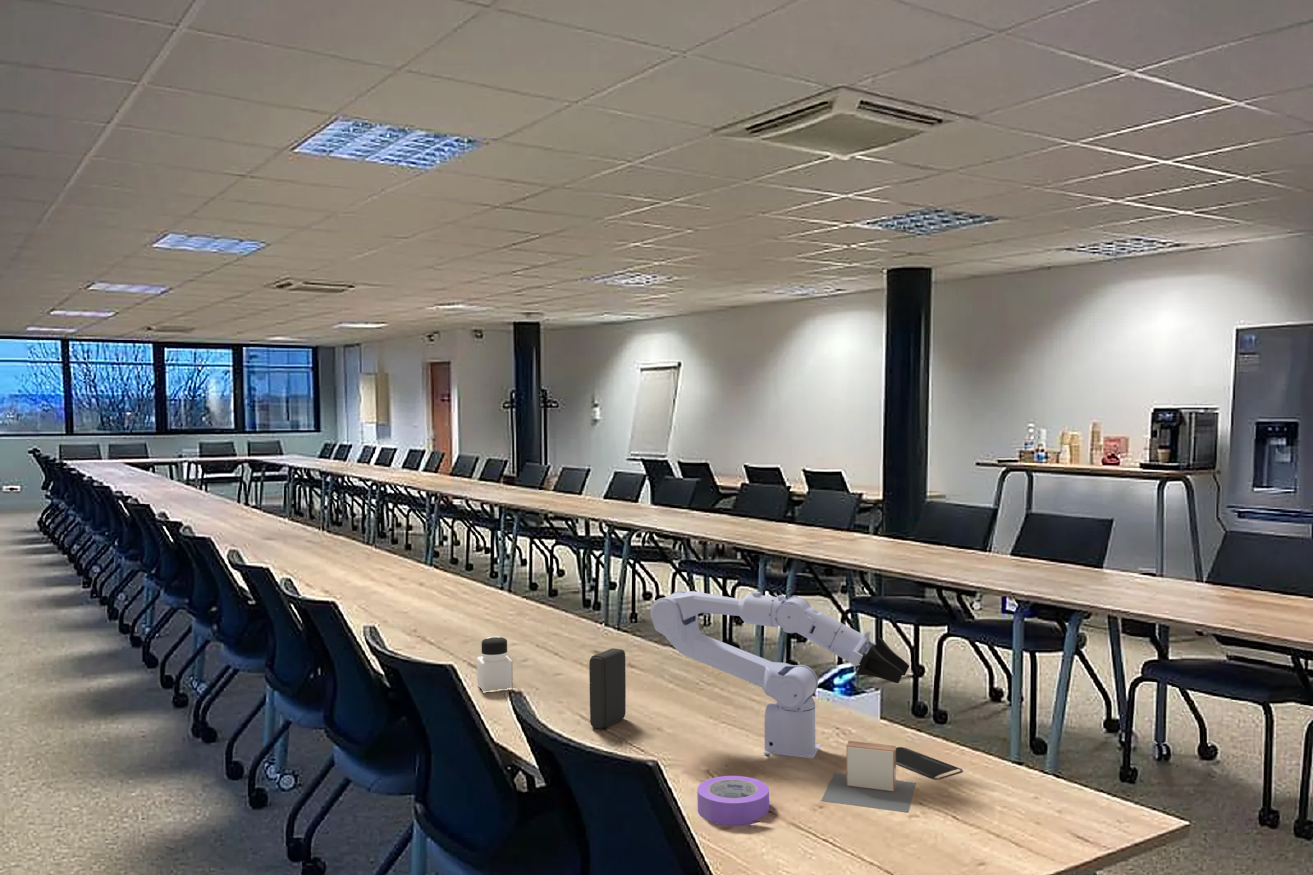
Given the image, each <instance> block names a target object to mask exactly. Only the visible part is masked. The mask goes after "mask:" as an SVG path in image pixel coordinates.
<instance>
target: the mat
mask: <svg viewBox="0 0 1313 875" xmlns="http://www.w3.org/2000/svg"><path fill="white" fill-rule="evenodd" d="M915 787H916V782H912V781H905V780H904V781H903V780H897V779H896V788H895V792H892V791H884V790H877V789H869V788H861V787H853V786H847V773H846V774H845V773H839V772H834V773H833V775H832V777H831V779H830V781H829V783H828V785H827V788H826V789H825V792H824V793H823V796H822V798H821V799H820V801H821V802H825V803H826V802H827V803H832V804H833V803H834V804H841V805H847V806H856V807H864V808H870V809H871V808H872V809H877V810H879V809H880V810H884V811H885V810H886V811H892V812H893V811H894V812H898V813H899V812H900V813H909V810H910V806H911V803H912V800H913V795H914V792H915Z"/></svg>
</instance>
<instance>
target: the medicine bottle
mask: <svg viewBox="0 0 1313 875" xmlns="http://www.w3.org/2000/svg"><path fill="white" fill-rule="evenodd" d="M476 670H477V671H476V674H477V676H476V677H477V678H476V680H477V681H476V682H477V683H478V685H479V686H480V687H481V689H482V691H490V690H498V689H507V688H510V687H511V688H512V690H513V688H514V687H513V660H512V659H511V658H510V657H509V656H508V640H507V639H506V638H505V637H502V636H489V637H486V638H484V639H482V641H481V656H478V657H476ZM478 685H477V686H478ZM508 690H509V689H508ZM482 691H481V692H482Z"/></svg>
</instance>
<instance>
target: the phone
mask: <svg viewBox="0 0 1313 875" xmlns="http://www.w3.org/2000/svg"><path fill="white" fill-rule="evenodd" d="M896 766H898V767H901V768H904V769H906V770H908V771H911V772H912V773H913V772H914V773H917V774H918V775H921V776H924V777H926V778H928V779H931V780H942V779H946V778H948V777H952V776H955V775H959V774H961V773H963V769H962V768H961V767H957V766H954V765H952V764H950V763H947V762H945V761H941V760H939V759H936V758H934V757H931V756H928V755H925V754H923V753H920V752H917V751H915V750H912V749H909V748H907V747H904V746H899V747H897V746H896ZM956 770H959V771H956ZM952 771H956V772H953V773H949V772H952ZM946 773H949V774H948V775H944V774H946ZM941 775H944V776H941ZM938 776H940V777H938Z"/></svg>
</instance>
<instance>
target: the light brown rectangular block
mask: <svg viewBox="0 0 1313 875" xmlns="http://www.w3.org/2000/svg"><path fill="white" fill-rule="evenodd" d="M896 748H897V746H896V745H890V744H880V743H872V742H862V741H854V740H848V741H847V744H846V774H847V786H853V787H861V788H869V789H877V790H884V791H892V792H895V788H896V780H897V765H896Z"/></svg>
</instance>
